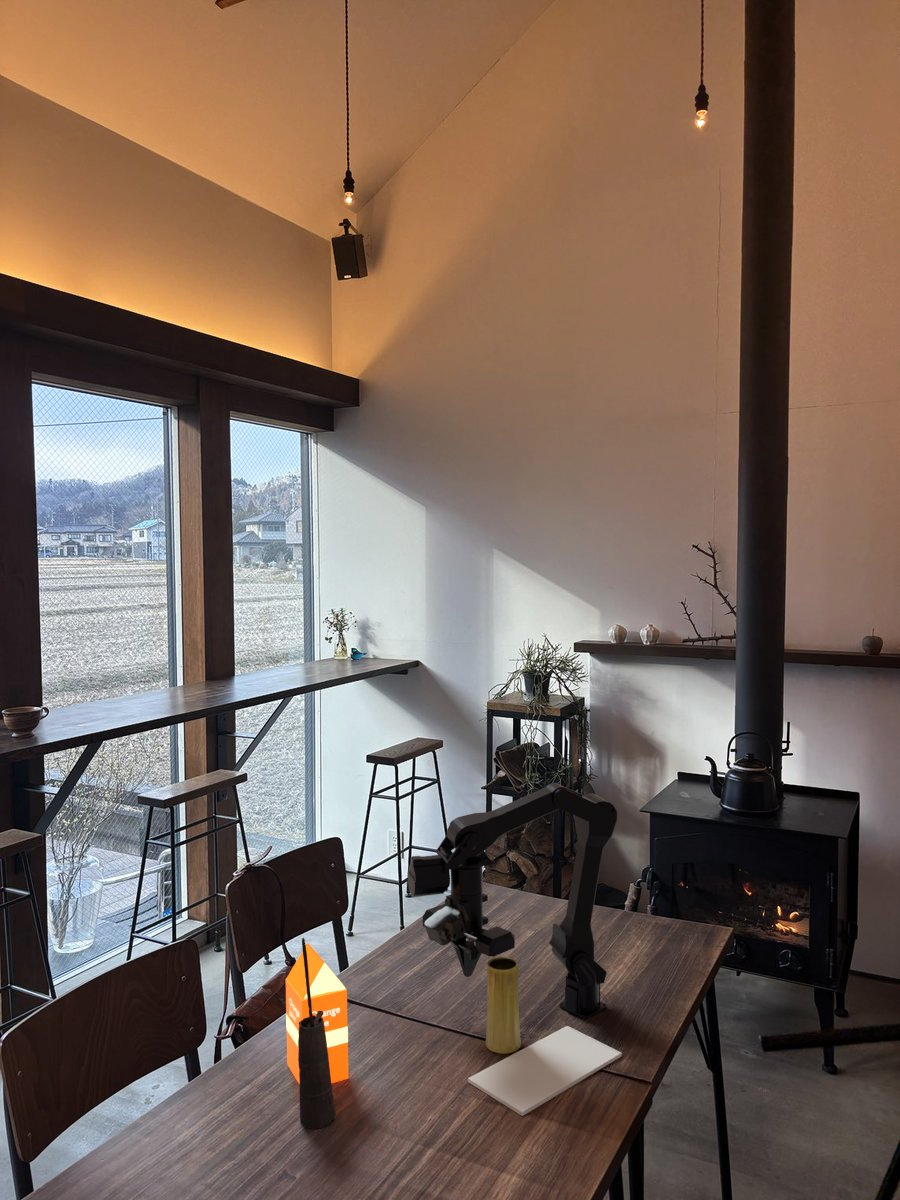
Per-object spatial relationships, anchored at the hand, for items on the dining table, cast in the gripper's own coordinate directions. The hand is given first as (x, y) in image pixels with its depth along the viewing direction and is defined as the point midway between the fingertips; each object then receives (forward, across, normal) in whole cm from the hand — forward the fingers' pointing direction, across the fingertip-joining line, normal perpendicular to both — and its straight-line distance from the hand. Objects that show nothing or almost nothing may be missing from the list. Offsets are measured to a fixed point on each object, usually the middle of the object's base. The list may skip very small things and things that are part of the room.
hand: (467, 976), depth 159 cm
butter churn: (+9, +4, -34) cm, 35 cm away
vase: (+9, +9, 0) cm, 13 cm away
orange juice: (+9, -6, -28) cm, 30 cm away
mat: (+9, +19, 0) cm, 21 cm away
